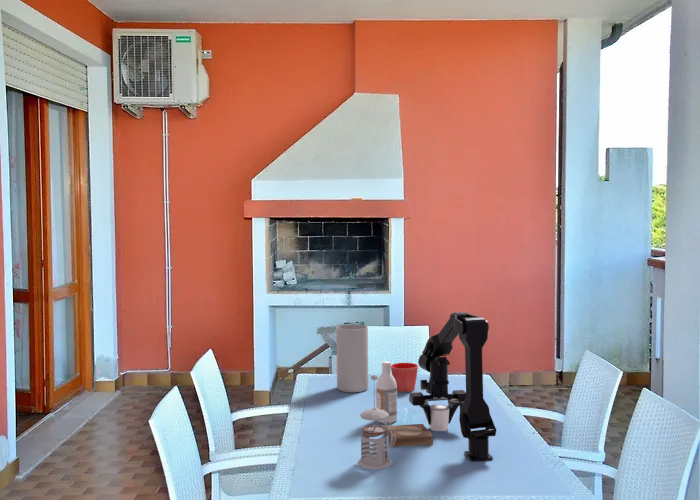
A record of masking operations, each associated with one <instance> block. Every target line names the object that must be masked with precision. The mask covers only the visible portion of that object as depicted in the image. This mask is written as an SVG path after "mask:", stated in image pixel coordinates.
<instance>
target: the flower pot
mask: <svg viewBox="0 0 700 500" xmlns="http://www.w3.org/2000/svg"><path fill="white" fill-rule="evenodd" d="M418 369H419V364H416V363H414V362H413V363H412V362H395V363H391V374H392V375H393V377H394V379H395V381H396V384H397V392H400V393H401V392H402V393H406V392H410V393H411V392H413V391H415V390H416V389H415V388H416V383H417V378H418V371H419V370H418Z"/></svg>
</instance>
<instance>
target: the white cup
mask: <svg viewBox="0 0 700 500" xmlns="http://www.w3.org/2000/svg"><path fill="white" fill-rule="evenodd" d="M449 411H450V408H449V407H448V405H445V404H432V405H430V415H431V423H430V425H429V428H430V430H431V431H435V432H445V431H448V429H449V423H448V422H449Z"/></svg>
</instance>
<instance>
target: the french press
mask: <svg viewBox="0 0 700 500" xmlns="http://www.w3.org/2000/svg"><path fill="white" fill-rule="evenodd" d="M370 380H372V381H375V380H377V381H378V375H376V374H372V375H371V376H370ZM375 390H376V388H375V386H373V407H372V408H368V409H365V410H363V411H362V412H360V414H359V417H360V418H361V419H362V420H366V421H370V422H371V421H373V424H368V425H364V426H363V427H362V428H361V431H362V432H361V434H360V456H361V457H360V458H359V459H358V461H357V465H358V466H359V467H360V468H361V467H362V468H363V469H368V470H383V469H386V468H389V467H390V466H392V465H393V460H391V459H390V457H389V453H390V451H389V449H390V448H391V447H394V446H393V445H394V443H395V441H396V432H395V429H394V427H393V426H394V425H393V423H390V422H387V423H382V424H383V425H381V424H376V423H375V422H378V421H377V420H383V419H386V418H388V416H389V414H388V413H387V412H386V411H384V410H381V409H378V408H376V404H375V403H376V399H375V397H376V396H375V395H376V394H375V393H376V391H375ZM389 424H390V425H389ZM387 426H388V428H389V426H392V427H393V429H394V432H395V441H394V443H393V444H392V432H391V430H390V432H391V441H390V440H389V438H388V433H387V432H386V431H387V428H386V427H387ZM389 429H390V428H389ZM383 435H385V436H383ZM380 436H381V437H380ZM377 437H379V438H377ZM389 442H390V444H389Z"/></svg>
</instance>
